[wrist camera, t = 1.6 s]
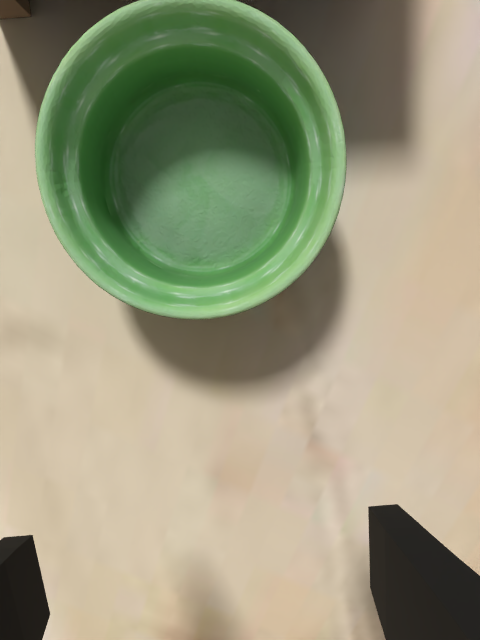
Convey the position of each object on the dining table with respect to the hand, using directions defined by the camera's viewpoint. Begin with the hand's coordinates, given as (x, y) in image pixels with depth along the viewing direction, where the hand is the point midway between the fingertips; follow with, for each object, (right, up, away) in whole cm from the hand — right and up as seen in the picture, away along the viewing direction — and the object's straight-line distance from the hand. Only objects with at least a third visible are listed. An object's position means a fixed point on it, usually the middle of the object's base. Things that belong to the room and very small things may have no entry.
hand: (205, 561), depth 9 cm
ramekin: (-1, +10, +8) cm, 13 cm away
